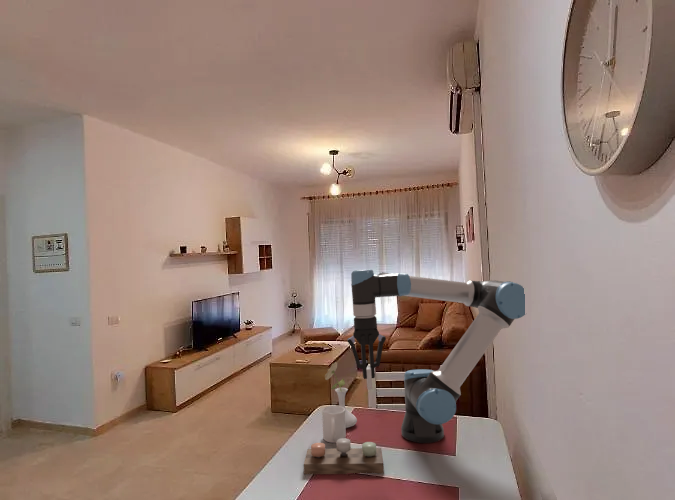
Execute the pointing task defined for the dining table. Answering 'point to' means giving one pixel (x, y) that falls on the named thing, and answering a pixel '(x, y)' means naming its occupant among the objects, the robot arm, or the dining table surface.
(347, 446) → the grey egg
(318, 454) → the orange egg
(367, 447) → the sage egg
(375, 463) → the cardboard egg tray
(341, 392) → the flower in vase
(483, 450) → the dining table surface
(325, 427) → the mug
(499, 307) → the robot arm
